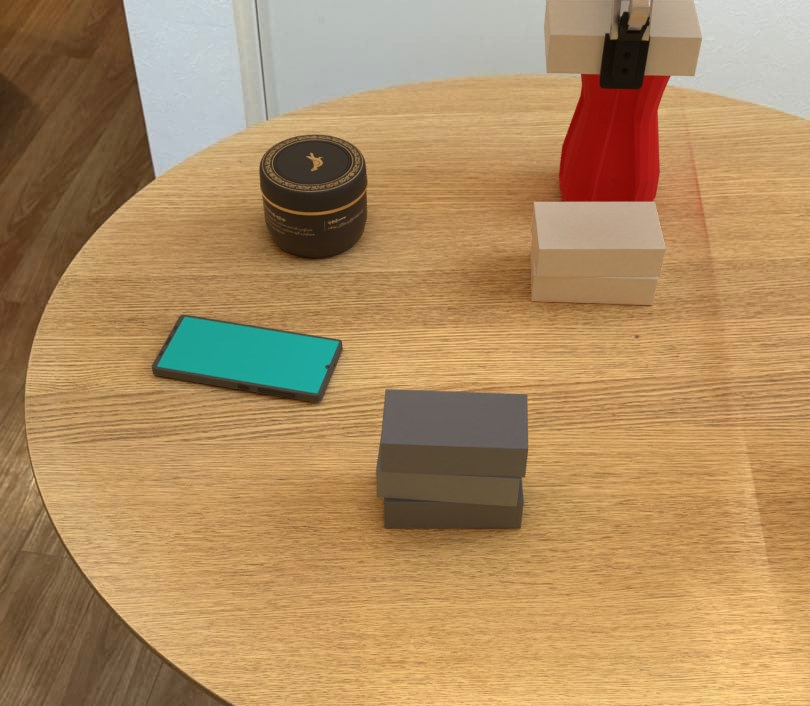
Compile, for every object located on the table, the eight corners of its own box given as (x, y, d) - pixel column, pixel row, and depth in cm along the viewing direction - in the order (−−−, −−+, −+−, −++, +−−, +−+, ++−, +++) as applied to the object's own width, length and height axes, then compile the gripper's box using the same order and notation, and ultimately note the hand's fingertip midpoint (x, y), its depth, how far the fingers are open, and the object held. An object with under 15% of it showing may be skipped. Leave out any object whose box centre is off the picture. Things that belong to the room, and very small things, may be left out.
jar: (333, 190, 116) (329, 120, 110) (389, 239, 111) (388, 169, 105) (247, 223, 113) (238, 153, 107) (299, 276, 107) (293, 206, 101)
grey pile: (520, 474, 91) (529, 391, 84) (520, 534, 88) (530, 451, 81) (382, 469, 92) (380, 385, 85) (377, 528, 88) (374, 445, 81)
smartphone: (180, 313, 103) (343, 339, 100) (182, 321, 103) (343, 347, 101) (149, 368, 98) (319, 397, 96) (151, 375, 99) (319, 404, 96)
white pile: (648, 256, 109) (659, 201, 105) (655, 307, 104) (666, 252, 100) (528, 252, 110) (533, 197, 105) (529, 303, 105) (534, 248, 100)
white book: (684, 30, 90) (692, -9, 88) (694, 76, 86) (702, 37, 84) (543, 27, 91) (547, -11, 88) (546, 73, 86) (550, 34, 84)
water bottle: (643, 161, 119) (689, -95, 100) (656, 225, 112) (708, -38, 93) (554, 160, 119) (582, -96, 100) (561, 224, 112) (593, -39, 93)
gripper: (729, -147, 69) (677, 123, 83) (697, -246, 80) (655, 7, 94) (604, -149, 70) (572, 120, 83) (589, -247, 81) (563, 5, 94)
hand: (616, 58), depth 89 cm, fingers closed on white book, 7 cm apart
